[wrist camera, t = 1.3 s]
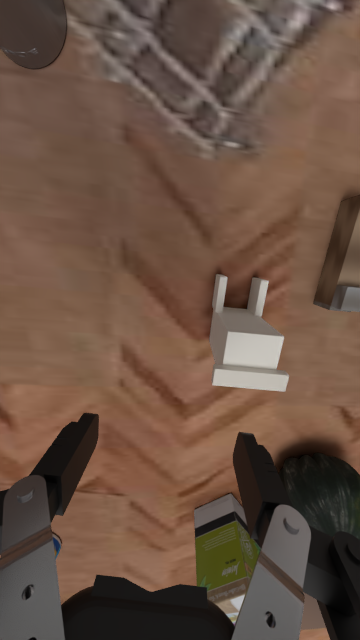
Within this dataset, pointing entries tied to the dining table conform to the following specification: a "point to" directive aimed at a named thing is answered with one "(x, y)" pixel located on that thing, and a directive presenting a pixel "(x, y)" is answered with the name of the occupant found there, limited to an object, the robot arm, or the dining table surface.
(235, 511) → the tea box
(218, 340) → the white forked bracket
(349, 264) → the rail
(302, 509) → the squash
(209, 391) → the dining table surface
